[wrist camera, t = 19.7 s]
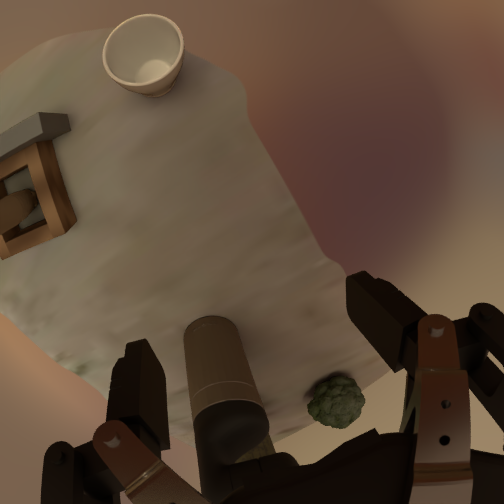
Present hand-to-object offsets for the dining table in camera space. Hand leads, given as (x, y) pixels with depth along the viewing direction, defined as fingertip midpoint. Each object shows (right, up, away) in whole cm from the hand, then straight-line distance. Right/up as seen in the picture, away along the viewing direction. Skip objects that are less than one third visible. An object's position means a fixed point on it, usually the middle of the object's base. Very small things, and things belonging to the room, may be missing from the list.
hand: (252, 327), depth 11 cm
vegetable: (+18, -29, +52) cm, 62 cm away
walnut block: (-31, +11, +21) cm, 39 cm away
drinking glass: (-12, +24, +20) cm, 34 cm away
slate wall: (-32, +17, +18) cm, 40 cm away
